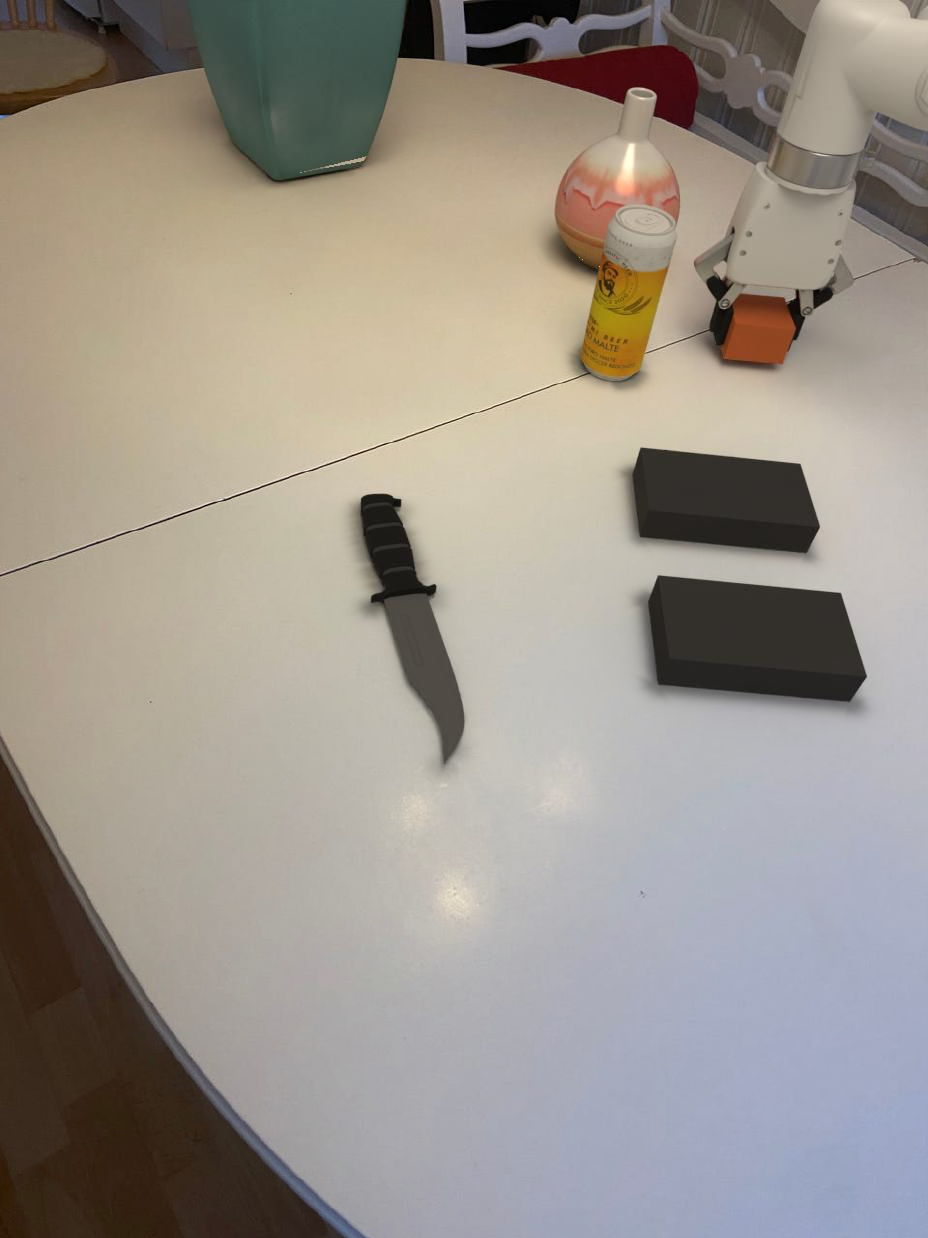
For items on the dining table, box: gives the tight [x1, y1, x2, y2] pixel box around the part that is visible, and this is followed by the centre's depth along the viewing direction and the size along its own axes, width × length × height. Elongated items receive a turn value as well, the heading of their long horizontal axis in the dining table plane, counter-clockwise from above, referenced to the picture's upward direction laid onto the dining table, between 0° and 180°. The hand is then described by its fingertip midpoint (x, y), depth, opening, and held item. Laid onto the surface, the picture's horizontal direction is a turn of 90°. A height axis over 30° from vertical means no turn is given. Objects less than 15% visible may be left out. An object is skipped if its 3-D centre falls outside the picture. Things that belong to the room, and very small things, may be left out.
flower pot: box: [185, 0, 407, 181], centre depth 106 cm, size 20×20×28 cm
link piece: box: [720, 292, 796, 365], centre depth 94 cm, size 6×6×4 cm
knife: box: [360, 493, 465, 765], centre depth 67 cm, size 25×2×5 cm
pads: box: [632, 446, 868, 703], centre depth 73 cm, size 14×23×3 cm, turn 178°
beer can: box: [580, 205, 678, 382], centre depth 86 cm, size 6×6×15 cm
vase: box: [554, 87, 681, 271], centre depth 100 cm, size 14×14×18 cm
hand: (750, 339), depth 95 cm, fingers closed on link piece, 6 cm apart
